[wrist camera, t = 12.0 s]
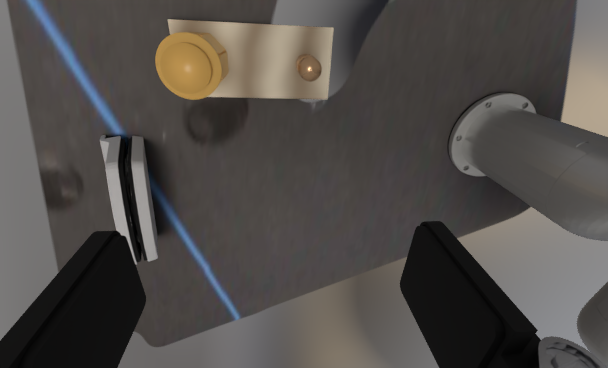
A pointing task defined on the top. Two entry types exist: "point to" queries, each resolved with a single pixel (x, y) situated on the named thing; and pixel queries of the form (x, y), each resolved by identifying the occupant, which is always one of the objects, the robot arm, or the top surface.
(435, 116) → the top surface
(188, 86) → the cap
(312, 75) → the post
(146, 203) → the hinge
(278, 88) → the plate
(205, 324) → the top surface
